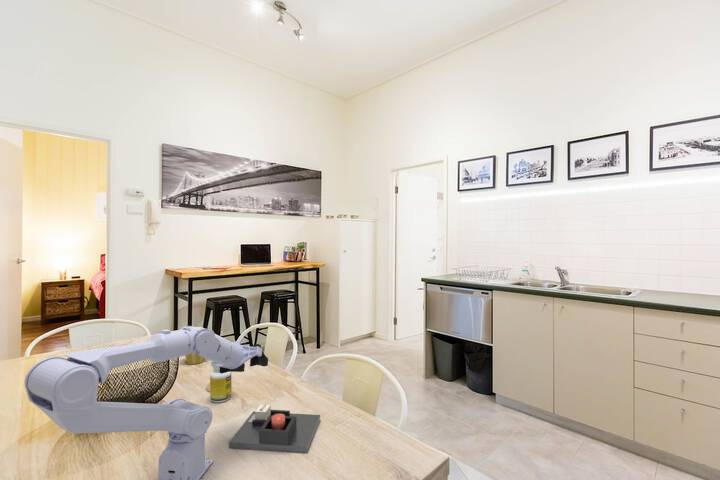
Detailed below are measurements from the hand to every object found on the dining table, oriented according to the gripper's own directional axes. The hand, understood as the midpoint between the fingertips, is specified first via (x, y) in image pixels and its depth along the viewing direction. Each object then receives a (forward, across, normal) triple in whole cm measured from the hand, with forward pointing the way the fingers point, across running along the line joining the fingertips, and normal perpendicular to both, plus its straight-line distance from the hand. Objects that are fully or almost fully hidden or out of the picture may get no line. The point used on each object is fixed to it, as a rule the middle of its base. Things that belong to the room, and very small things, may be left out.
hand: (255, 365), depth 96 cm
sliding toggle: (+9, +3, +12) cm, 15 cm away
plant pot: (+31, +53, -20) cm, 65 cm away
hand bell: (+20, +30, -3) cm, 36 cm away
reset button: (+4, -6, +16) cm, 17 cm away
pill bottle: (+15, +24, +2) cm, 28 cm away
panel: (+9, -2, +16) cm, 19 cm away
